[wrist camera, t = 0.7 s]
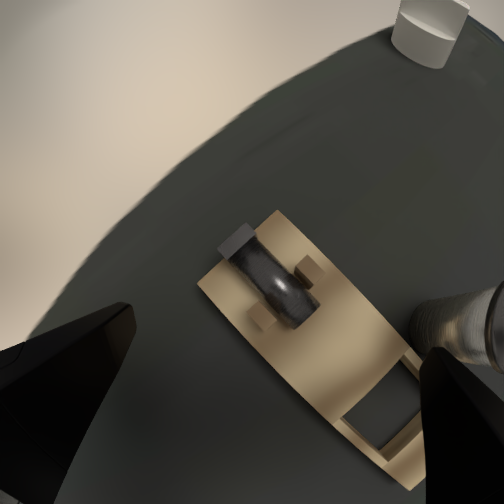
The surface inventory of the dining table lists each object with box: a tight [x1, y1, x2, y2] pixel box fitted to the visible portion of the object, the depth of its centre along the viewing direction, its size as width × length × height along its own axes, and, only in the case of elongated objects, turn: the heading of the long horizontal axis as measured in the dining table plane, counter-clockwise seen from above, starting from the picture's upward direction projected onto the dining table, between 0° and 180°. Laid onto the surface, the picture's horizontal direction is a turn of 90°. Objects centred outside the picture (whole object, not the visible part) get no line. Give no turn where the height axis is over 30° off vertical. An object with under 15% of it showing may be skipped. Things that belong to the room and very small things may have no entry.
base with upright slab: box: [391, 0, 470, 69], centre depth 22 cm, size 9×9×12 cm
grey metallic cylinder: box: [409, 281, 504, 374], centre depth 14 cm, size 5×5×12 cm
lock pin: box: [217, 223, 321, 330], centre depth 18 cm, size 7×2×2 cm, turn 43°
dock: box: [197, 210, 426, 491], centre depth 17 cm, size 26×8×6 cm, turn 43°
